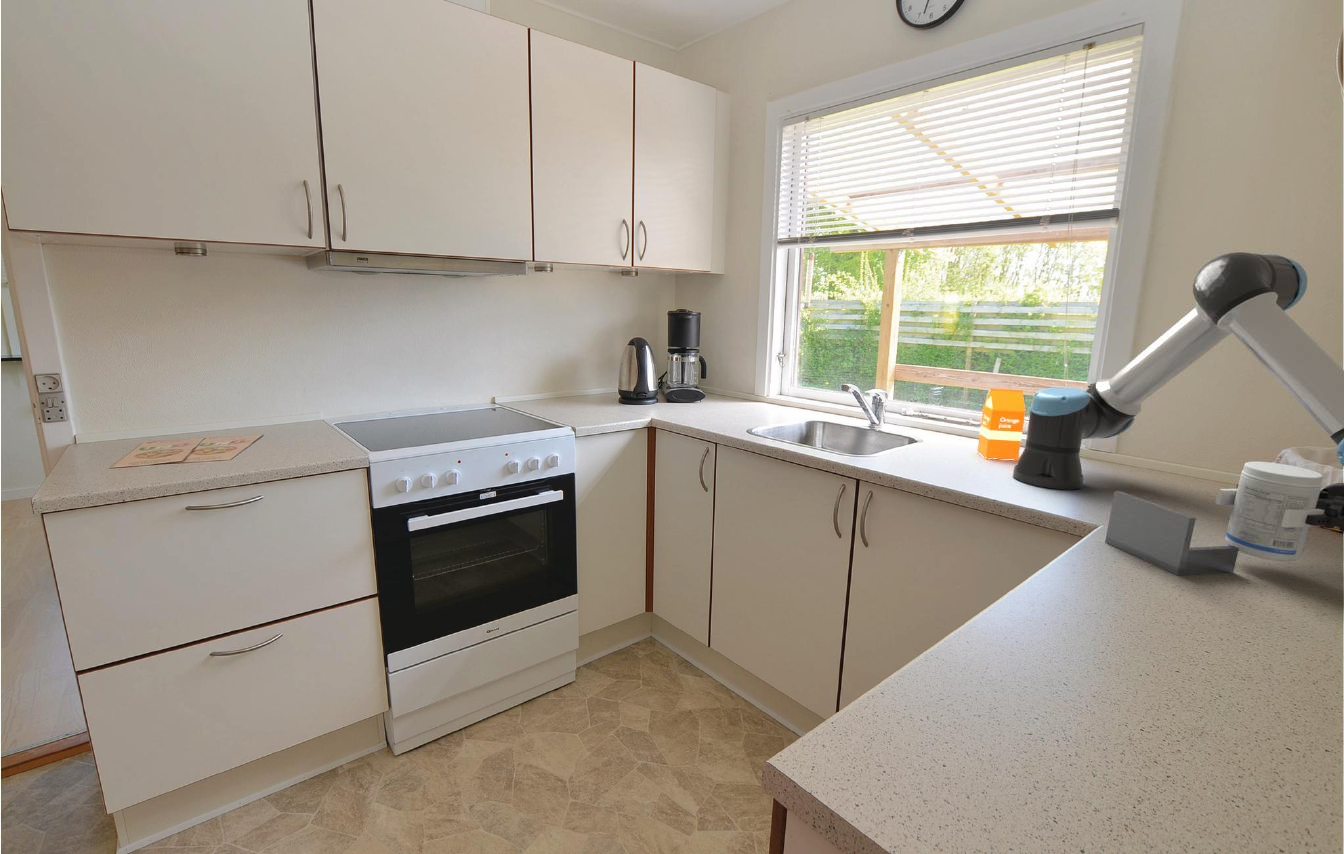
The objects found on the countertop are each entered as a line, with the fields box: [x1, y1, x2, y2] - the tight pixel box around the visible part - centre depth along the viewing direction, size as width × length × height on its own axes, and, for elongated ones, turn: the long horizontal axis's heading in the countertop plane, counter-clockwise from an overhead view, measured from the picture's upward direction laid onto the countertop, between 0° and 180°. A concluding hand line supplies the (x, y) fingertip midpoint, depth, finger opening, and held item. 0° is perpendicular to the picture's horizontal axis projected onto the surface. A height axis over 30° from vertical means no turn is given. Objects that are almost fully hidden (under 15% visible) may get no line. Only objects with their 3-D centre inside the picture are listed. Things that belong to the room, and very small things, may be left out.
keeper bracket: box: [1104, 490, 1239, 576], centre depth 106 cm, size 14×11×10 cm
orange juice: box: [977, 388, 1026, 461], centre depth 174 cm, size 8×9×20 cm
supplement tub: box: [1224, 461, 1324, 563], centre depth 100 cm, size 10×10×15 cm
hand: (1250, 507), depth 100 cm, fingers closed on supplement tub, 9 cm apart
